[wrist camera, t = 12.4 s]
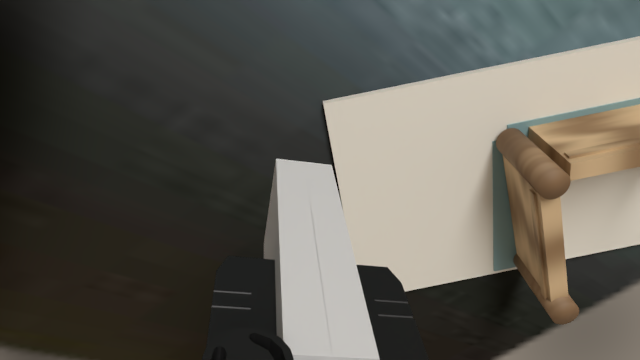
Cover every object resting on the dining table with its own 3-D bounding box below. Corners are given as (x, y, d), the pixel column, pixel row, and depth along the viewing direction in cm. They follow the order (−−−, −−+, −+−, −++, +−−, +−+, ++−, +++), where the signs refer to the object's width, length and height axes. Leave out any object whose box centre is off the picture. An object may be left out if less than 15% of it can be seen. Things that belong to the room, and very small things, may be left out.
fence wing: (494, 133, 40) (537, 176, 34) (521, 124, 40) (569, 166, 33) (514, 270, 47) (552, 327, 41) (537, 263, 47) (579, 319, 41)
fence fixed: (528, 146, 41) (575, 191, 35) (528, 122, 40) (577, 163, 34) (673, 117, 41) (747, 156, 35) (678, 91, 40) (755, 127, 34)
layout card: (358, 296, 48) (360, 301, 48) (322, 101, 38) (323, 104, 38) (648, 237, 48) (653, 242, 47) (686, 26, 38) (693, 28, 38)
